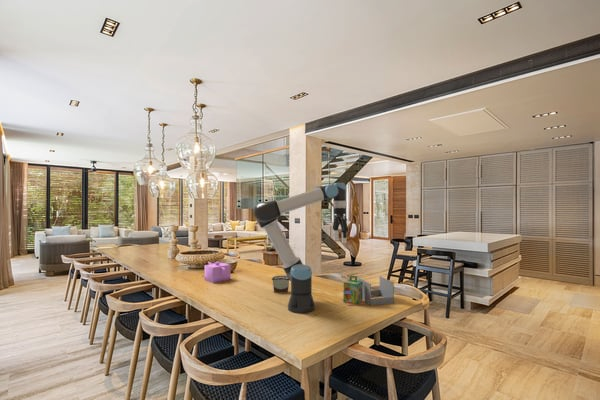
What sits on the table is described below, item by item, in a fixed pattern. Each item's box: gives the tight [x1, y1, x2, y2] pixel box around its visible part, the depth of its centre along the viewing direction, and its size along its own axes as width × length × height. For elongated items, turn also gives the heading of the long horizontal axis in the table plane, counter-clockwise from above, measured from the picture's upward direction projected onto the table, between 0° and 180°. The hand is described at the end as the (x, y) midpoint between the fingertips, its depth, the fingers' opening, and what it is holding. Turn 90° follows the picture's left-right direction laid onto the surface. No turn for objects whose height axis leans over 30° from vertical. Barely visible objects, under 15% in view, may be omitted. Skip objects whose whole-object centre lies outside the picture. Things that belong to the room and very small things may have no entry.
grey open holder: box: [357, 275, 395, 306], centre depth 181 cm, size 15×16×12 cm
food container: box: [271, 275, 290, 294], centre depth 201 cm, size 12×6×10 cm, turn 84°
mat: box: [341, 298, 367, 307], centre depth 177 cm, size 11×11×1 cm
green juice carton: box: [342, 275, 363, 304], centre depth 177 cm, size 9×9×15 cm
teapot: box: [204, 261, 231, 284], centre depth 235 cm, size 15×25×14 cm, turn 45°
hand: (340, 241), depth 185 cm, fingers open, 13 cm apart
